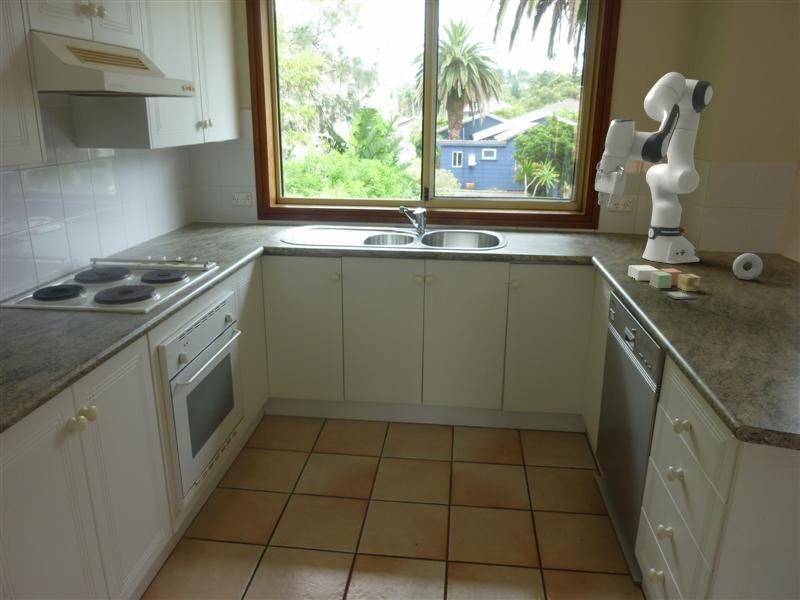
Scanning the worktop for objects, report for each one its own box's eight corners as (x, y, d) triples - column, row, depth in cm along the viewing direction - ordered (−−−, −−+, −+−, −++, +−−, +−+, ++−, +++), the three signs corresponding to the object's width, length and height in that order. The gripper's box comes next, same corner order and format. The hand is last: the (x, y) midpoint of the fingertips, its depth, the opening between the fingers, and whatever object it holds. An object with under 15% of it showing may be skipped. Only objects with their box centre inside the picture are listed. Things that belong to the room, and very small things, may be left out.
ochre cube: (689, 287, 212) (691, 273, 211) (698, 291, 208) (700, 277, 206) (676, 287, 212) (678, 274, 210) (685, 291, 207) (687, 277, 205)
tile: (682, 292, 206) (682, 290, 206) (696, 298, 199) (696, 297, 198) (660, 292, 205) (660, 291, 205) (674, 299, 197) (674, 298, 197)
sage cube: (662, 285, 215) (664, 271, 213) (670, 289, 210) (672, 275, 209) (649, 285, 214) (651, 271, 213) (657, 289, 210) (659, 275, 208)
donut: (758, 279, 224) (763, 253, 221) (761, 281, 221) (766, 255, 218) (729, 277, 226) (733, 251, 223) (731, 279, 223) (736, 253, 220)
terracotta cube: (671, 281, 220) (673, 268, 218) (679, 285, 215) (681, 271, 213) (658, 282, 219) (660, 268, 217) (666, 285, 214) (668, 272, 213)
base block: (647, 275, 229) (649, 265, 228) (658, 280, 221) (659, 270, 220) (627, 275, 228) (628, 265, 227) (637, 281, 221) (638, 270, 219)
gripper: (634, 168, 199) (624, 210, 202) (612, 166, 219) (604, 204, 222) (615, 165, 199) (606, 207, 202) (595, 164, 219) (587, 202, 222)
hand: (605, 206), depth 212 cm, fingers open, 8 cm apart
